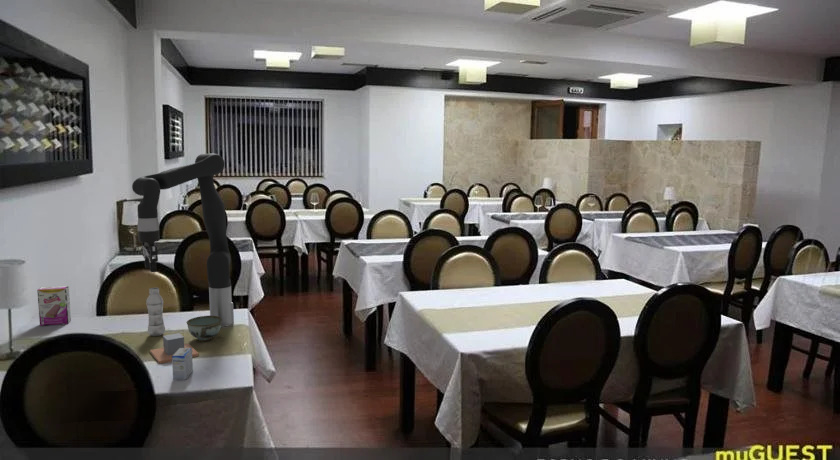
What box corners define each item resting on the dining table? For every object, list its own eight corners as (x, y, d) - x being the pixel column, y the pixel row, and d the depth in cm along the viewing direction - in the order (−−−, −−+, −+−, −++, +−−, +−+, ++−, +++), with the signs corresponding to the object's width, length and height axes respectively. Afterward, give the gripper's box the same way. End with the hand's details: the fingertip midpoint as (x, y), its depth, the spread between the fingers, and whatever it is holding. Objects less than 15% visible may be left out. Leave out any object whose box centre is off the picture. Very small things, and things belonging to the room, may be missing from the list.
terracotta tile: (188, 345, 231) (187, 343, 231) (198, 355, 220) (198, 353, 220) (150, 352, 222) (150, 350, 222) (159, 363, 211) (159, 361, 211)
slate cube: (180, 347, 225) (179, 332, 224) (184, 352, 220) (183, 337, 219) (163, 351, 221) (162, 335, 221) (167, 355, 217) (167, 340, 216)
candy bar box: (39, 326, 252) (36, 289, 250) (42, 323, 257) (39, 286, 254) (68, 324, 255) (66, 287, 253) (71, 320, 260) (68, 285, 258)
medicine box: (180, 371, 205) (179, 347, 204) (193, 371, 205) (192, 347, 204) (172, 380, 197) (171, 355, 196) (186, 379, 197) (185, 355, 196)
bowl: (229, 335, 243) (228, 317, 242) (208, 346, 230) (207, 326, 229) (202, 332, 247) (201, 313, 246) (180, 342, 235) (179, 322, 233)
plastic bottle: (159, 338, 238) (156, 291, 236) (144, 337, 240) (141, 290, 237) (168, 333, 245) (166, 287, 242) (154, 332, 246) (152, 286, 243)
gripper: (163, 230, 222) (165, 272, 225) (154, 226, 234) (156, 265, 236) (142, 232, 218) (144, 274, 220) (134, 227, 229) (136, 267, 232)
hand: (150, 269), depth 228 cm, fingers open, 8 cm apart
